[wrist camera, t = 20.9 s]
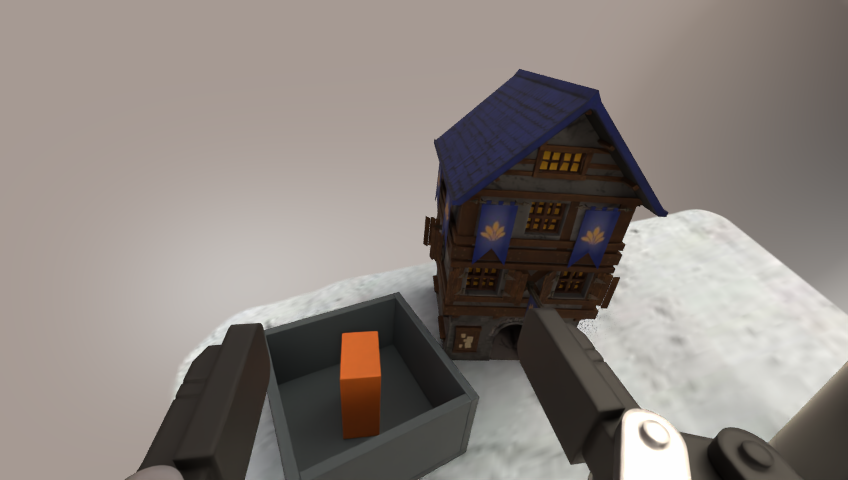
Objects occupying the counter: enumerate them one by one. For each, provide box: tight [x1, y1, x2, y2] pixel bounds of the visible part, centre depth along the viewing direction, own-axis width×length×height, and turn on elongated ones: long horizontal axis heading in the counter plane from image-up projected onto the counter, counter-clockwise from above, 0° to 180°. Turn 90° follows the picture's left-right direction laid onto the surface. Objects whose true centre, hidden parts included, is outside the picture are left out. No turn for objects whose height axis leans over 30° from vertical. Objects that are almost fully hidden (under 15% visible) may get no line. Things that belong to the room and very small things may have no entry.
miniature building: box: [423, 69, 668, 361], centre depth 39 cm, size 19×21×30 cm
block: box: [340, 331, 381, 439], centre depth 32 cm, size 3×5×8 cm, turn 9°
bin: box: [264, 292, 479, 480], centre depth 32 cm, size 15×15×8 cm
